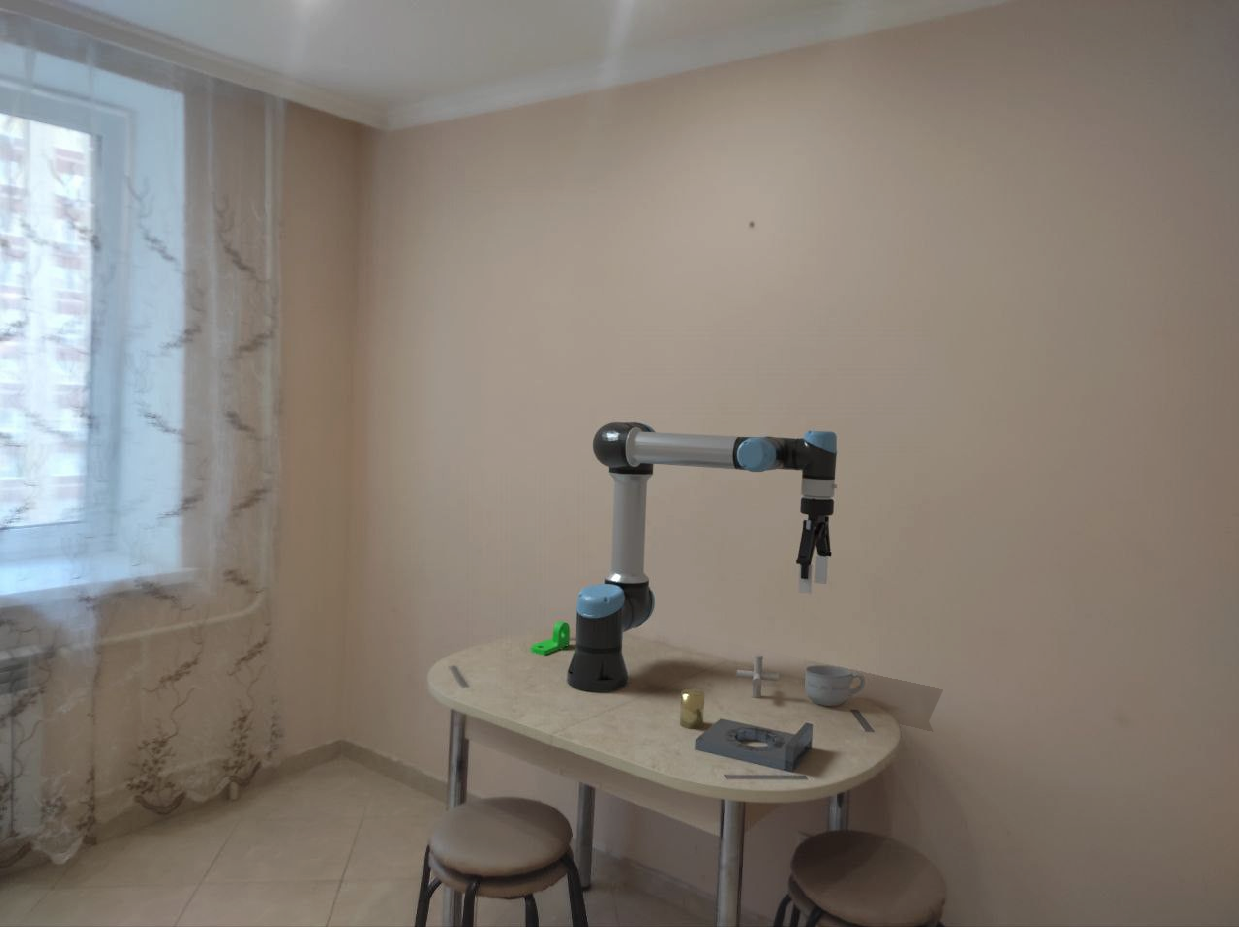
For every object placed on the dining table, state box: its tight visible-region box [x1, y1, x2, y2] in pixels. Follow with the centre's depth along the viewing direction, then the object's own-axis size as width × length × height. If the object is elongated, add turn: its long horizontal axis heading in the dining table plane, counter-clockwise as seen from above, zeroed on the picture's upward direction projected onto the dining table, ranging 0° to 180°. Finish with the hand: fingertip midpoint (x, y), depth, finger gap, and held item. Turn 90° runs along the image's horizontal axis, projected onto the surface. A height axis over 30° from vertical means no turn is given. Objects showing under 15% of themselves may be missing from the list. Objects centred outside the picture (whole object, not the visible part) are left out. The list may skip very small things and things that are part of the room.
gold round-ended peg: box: [679, 688, 705, 730], centre depth 180 cm, size 5×5×7 cm
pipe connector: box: [736, 654, 780, 699], centre depth 200 cm, size 10×10×10 cm
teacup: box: [804, 664, 866, 707], centre depth 198 cm, size 14×11×8 cm
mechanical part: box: [530, 620, 571, 657], centre depth 232 cm, size 12×6×8 cm, turn 148°
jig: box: [694, 717, 814, 773], centre depth 169 cm, size 20×14×5 cm
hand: (812, 588), depth 194 cm, fingers open, 13 cm apart
